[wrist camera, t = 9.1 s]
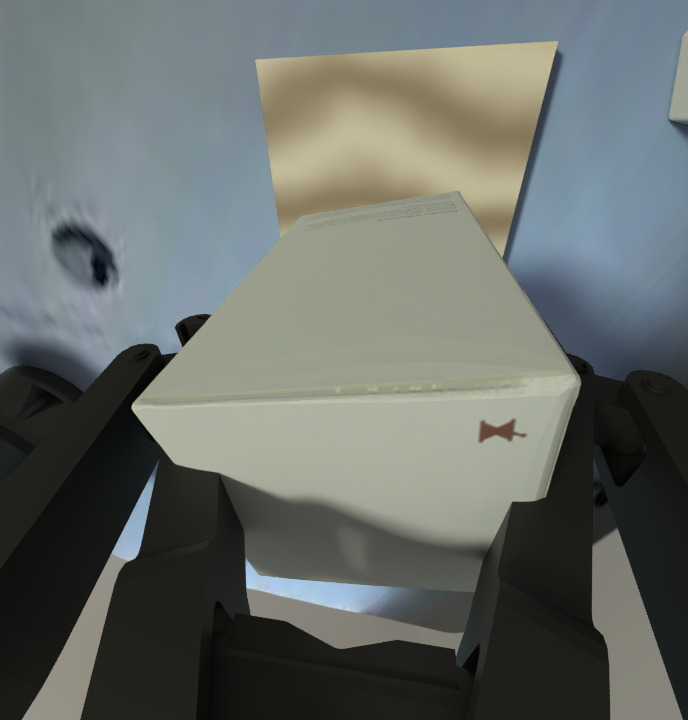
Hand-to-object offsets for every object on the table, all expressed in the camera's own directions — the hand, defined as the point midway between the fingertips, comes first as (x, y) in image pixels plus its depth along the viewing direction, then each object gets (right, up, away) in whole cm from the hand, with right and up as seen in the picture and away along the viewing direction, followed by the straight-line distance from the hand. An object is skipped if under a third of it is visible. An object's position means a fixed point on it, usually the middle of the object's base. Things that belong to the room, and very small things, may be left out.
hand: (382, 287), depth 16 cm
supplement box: (0, +1, +1) cm, 1 cm away
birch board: (+2, +10, +13) cm, 17 cm away
